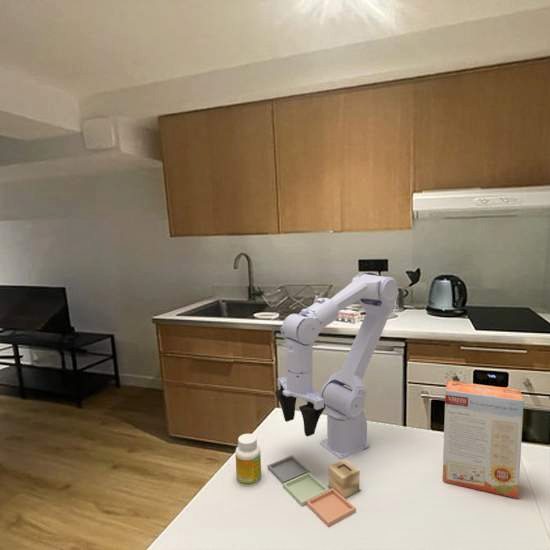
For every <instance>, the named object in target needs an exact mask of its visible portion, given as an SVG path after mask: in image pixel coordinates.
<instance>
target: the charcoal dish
mask: <svg viewBox="0 0 550 550" xmlns="http://www.w3.org/2000/svg"><path fill="white" fill-rule="evenodd" d="M266 467H267V470H268V471H269V472H270V473H271V474H272V475H273V476H274V477H275V478H276V479H277V480H278V481H279V483H281V484H282V485H283V483H286V482H288V481H290V480H292V479H295V478H297V477H299V476H301V475H304V474H306V473H308V472H309V473H310V474H311V471H310V469H309V468H307V467H306V466H305V465H304V464H303V463H302V462H301V461H299V460H298V459H297V458H296V457H295V456H294V455H290V456H287V457H284V458H282V459H280V460H279V459H278V460H277V461H274V462H272V463H270V464H268V465H267V466H266Z"/></svg>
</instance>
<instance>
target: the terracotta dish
mask: <svg viewBox="0 0 550 550" xmlns="http://www.w3.org/2000/svg"><path fill="white" fill-rule="evenodd" d="M305 506H307V508H308V509H309V510H311V512H313V514H315V516H317V518H318V519H319V520H320V521H322V523H323V524H325V526H327V527H328V528H329V527H332V526H333V525H335V524H336V523H339V522H340V521H342V520H344V519H346V518H347V517H349V516H351V515H353V514H355V513H356V512H357V509H356V507H355V506H354V505H353V504H352V503H351V502H350V501H348V500H347V498H346V499H345V498H344V497H343V496H341V495H340V494H339V493H338V492H337V491H336V490H334V489H333V488H332V489H330V488H329V490H328V491H326V492H324V493H322V494H320V495H318V496H316V497H314V498H312V499H310V500H308V501H306V505H305Z"/></svg>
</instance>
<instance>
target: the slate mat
mask: <svg viewBox="0 0 550 550" xmlns="http://www.w3.org/2000/svg"><path fill="white" fill-rule="evenodd" d="M326 488H328V489H329V490H330V489H331V488H330V487H329V484H328V485H327V487H326ZM361 491H362V490H361V489H360V488H359V491H357V492H356V493H354V494H352V495H350V496H348V497H346V498H345V499H346V500H347V499H348V498H351V497H352V496H354V495H356V494H357V493H360V492H361Z"/></svg>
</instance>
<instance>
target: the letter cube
mask: <svg viewBox="0 0 550 550" xmlns="http://www.w3.org/2000/svg"><path fill="white" fill-rule="evenodd" d="M327 468H328V472H327V473H328V480H327V481H328V485H329V487H330V488H331V489H332V488H333V489H334V490H336V491H337V492H338V493H339V494H340V495H341V496H343V497H344V498H346V497H348V496H350V495H352V494H354V493H356V492H357V491H359V489H360V472H361V471H360V469H358V468H357V467H356V466H354V465H353V464H352V463H351V462H349V461H347V460H346V459H343V460H341V461H338V462H335V463H334V464H331V465H329V466H328V467H327ZM329 487H328V488H329ZM330 488H329V489H330ZM356 494H357V493H356ZM354 495H355V494H354ZM352 496H353V495H352ZM350 497H351V496H350ZM348 498H349V497H348ZM346 499H347V498H346Z"/></svg>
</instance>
